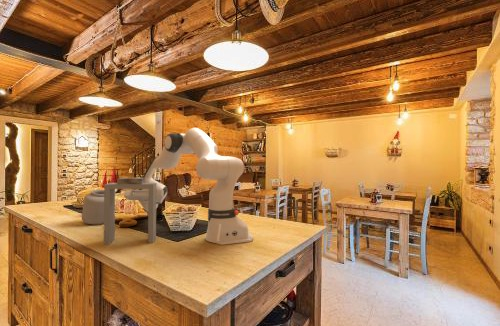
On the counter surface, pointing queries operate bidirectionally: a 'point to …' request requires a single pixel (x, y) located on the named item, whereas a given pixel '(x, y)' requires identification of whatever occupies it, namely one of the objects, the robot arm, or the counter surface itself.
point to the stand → (110, 209)
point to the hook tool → (131, 180)
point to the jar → (94, 207)
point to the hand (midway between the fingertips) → (142, 189)
